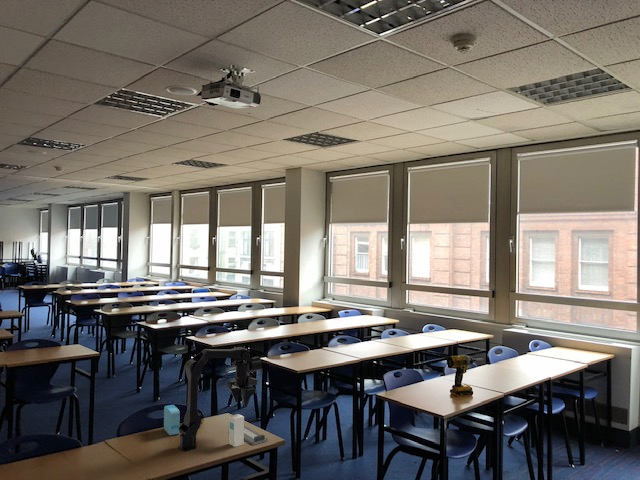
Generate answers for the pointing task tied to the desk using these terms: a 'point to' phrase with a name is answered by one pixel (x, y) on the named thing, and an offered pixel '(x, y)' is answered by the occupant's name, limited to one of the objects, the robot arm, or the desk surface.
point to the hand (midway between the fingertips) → (241, 404)
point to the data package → (171, 419)
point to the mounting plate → (253, 436)
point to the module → (236, 430)
